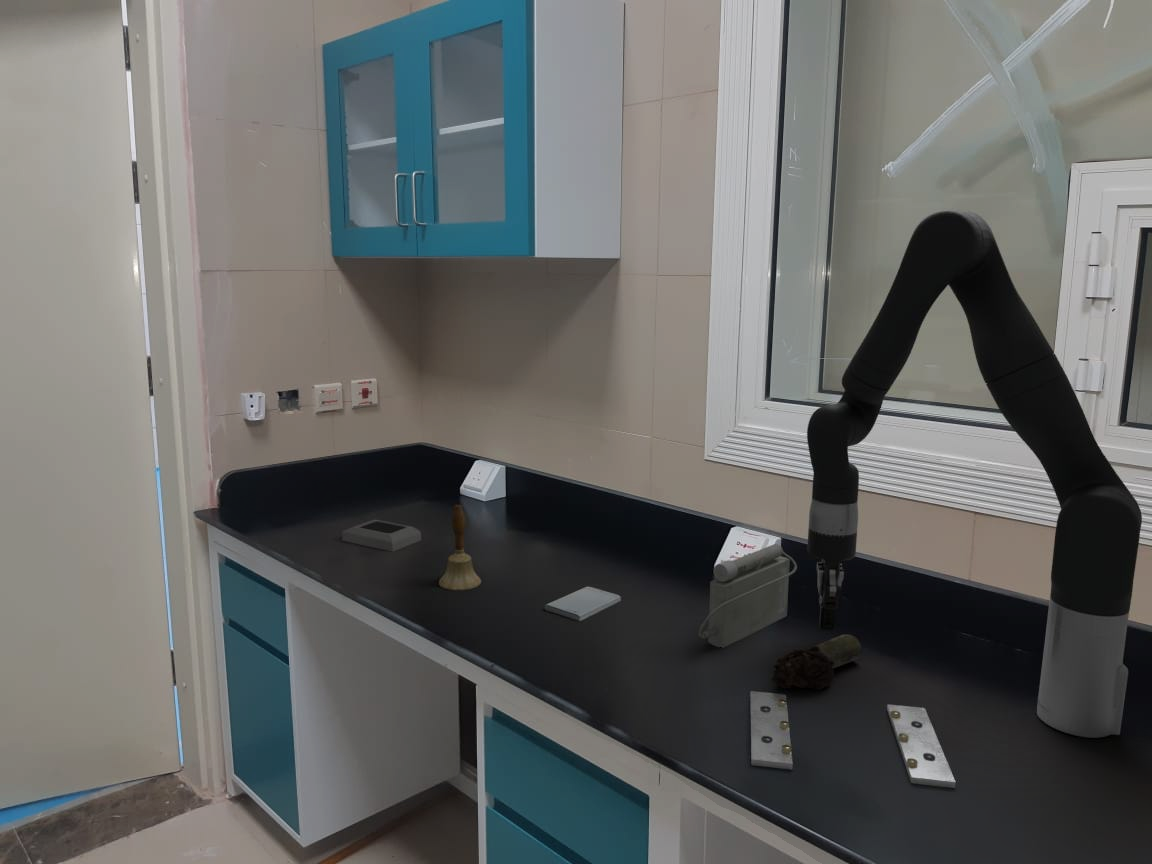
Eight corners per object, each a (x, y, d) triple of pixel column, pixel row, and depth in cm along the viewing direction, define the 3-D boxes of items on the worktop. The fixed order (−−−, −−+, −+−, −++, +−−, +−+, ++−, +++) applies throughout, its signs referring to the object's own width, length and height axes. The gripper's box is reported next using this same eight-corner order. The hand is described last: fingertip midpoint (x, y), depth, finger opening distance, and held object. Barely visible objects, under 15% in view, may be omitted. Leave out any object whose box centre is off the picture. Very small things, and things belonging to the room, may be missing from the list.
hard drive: (579, 615, 150) (620, 595, 160) (544, 604, 155) (586, 584, 165) (579, 624, 150) (620, 603, 160) (544, 612, 155) (586, 593, 165)
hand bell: (481, 590, 165) (480, 510, 162) (437, 591, 164) (435, 511, 161) (481, 575, 173) (480, 499, 170) (440, 576, 172) (438, 499, 169)
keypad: (371, 516, 201) (420, 526, 194) (372, 531, 202) (421, 541, 195) (341, 526, 193) (392, 537, 186) (342, 542, 194) (392, 553, 187)
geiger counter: (771, 536, 154) (685, 569, 137) (803, 544, 149) (717, 579, 132) (768, 609, 156) (683, 650, 139) (799, 619, 152) (714, 663, 135)
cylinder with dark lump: (834, 654, 139) (837, 622, 137) (871, 670, 133) (875, 636, 132) (765, 686, 128) (767, 650, 126) (802, 704, 122) (805, 667, 121)
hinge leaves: (924, 713, 120) (925, 705, 119) (955, 788, 102) (955, 779, 102) (750, 696, 124) (750, 688, 124) (751, 765, 107) (751, 756, 106)
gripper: (862, 540, 130) (854, 647, 133) (852, 516, 142) (846, 614, 146) (811, 537, 131) (805, 642, 134) (806, 513, 144) (800, 610, 147)
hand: (826, 627), depth 140 cm, fingers closed
